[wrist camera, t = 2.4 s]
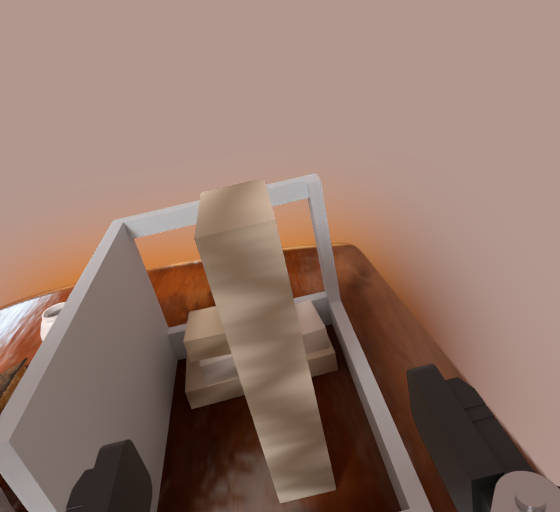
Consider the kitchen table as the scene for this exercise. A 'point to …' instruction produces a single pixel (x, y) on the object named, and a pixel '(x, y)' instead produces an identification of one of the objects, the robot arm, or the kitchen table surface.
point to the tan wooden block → (264, 334)
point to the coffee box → (4, 503)
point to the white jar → (50, 318)
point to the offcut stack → (219, 361)
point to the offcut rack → (149, 368)
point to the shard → (10, 381)
